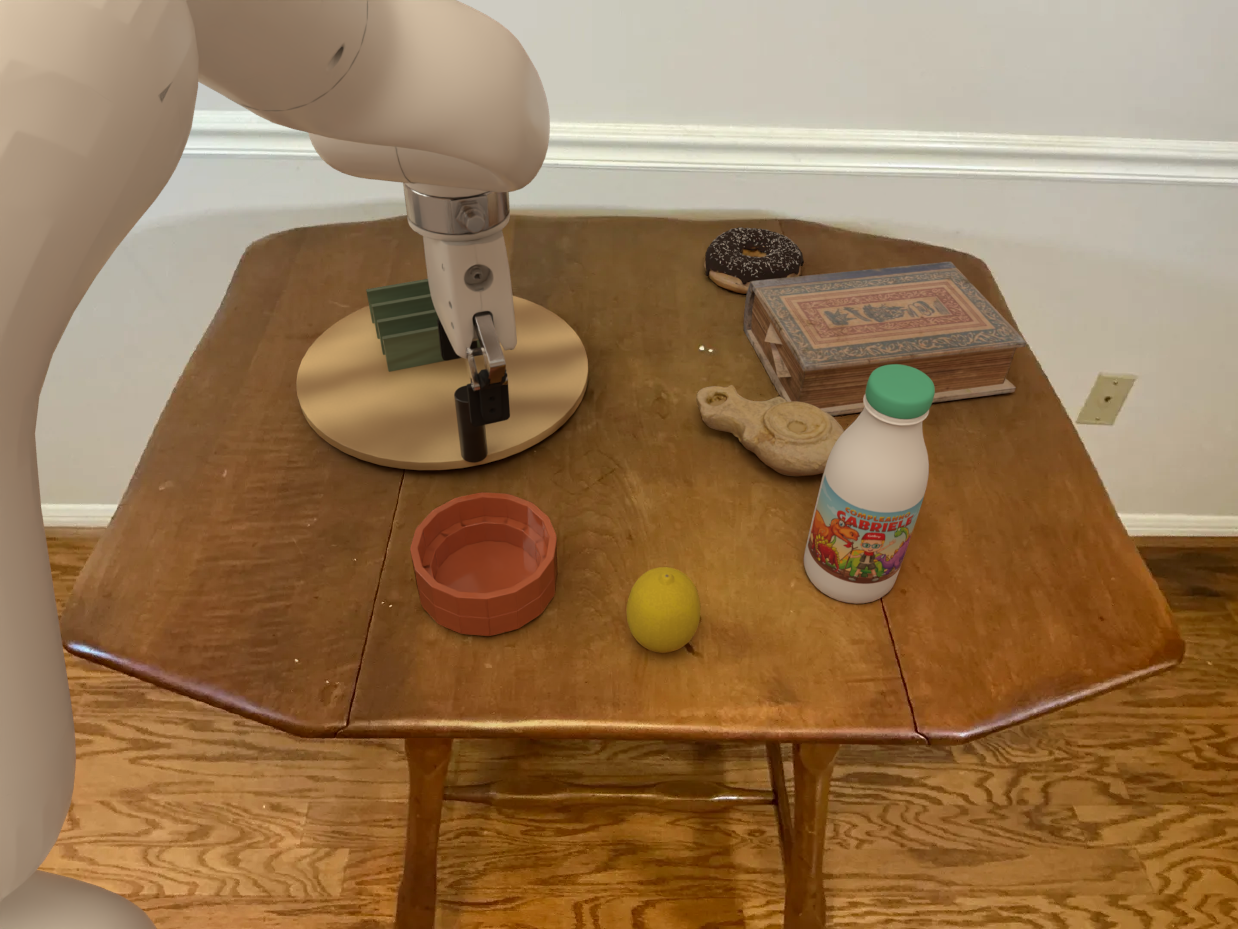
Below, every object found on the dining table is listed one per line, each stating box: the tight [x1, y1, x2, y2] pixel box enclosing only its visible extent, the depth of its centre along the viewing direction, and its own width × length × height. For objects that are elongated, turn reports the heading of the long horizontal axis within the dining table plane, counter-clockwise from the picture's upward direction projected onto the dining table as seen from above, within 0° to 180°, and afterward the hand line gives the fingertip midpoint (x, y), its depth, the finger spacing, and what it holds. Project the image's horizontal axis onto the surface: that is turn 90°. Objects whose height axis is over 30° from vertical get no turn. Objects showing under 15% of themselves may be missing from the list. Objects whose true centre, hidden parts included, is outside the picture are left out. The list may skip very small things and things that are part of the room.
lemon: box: [626, 566, 702, 654], centre depth 71 cm, size 6×6×8 cm
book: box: [743, 260, 1027, 417], centre depth 99 cm, size 17×7×25 cm
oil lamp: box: [695, 384, 845, 477], centre depth 88 cm, size 11×14×5 cm
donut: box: [703, 227, 805, 295], centre depth 113 cm, size 11×12×4 cm
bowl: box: [409, 491, 559, 637], centre depth 76 cm, size 11×11×5 cm
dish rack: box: [295, 278, 589, 471], centre depth 93 cm, size 30×29×8 cm
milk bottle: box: [803, 364, 935, 605], centre depth 73 cm, size 8×8×20 cm
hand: (474, 387), depth 80 cm, fingers open, 9 cm apart
